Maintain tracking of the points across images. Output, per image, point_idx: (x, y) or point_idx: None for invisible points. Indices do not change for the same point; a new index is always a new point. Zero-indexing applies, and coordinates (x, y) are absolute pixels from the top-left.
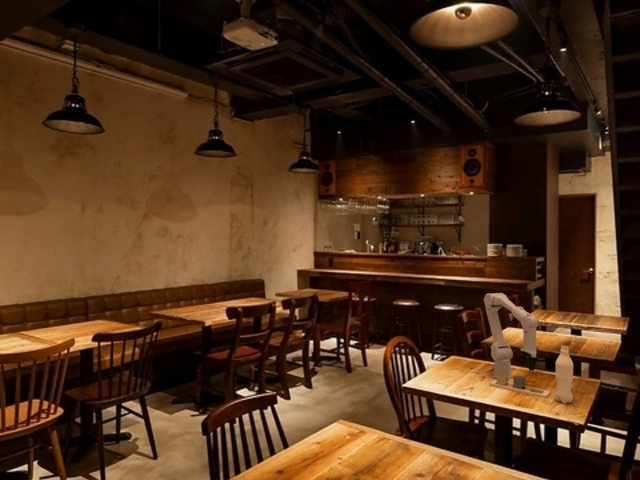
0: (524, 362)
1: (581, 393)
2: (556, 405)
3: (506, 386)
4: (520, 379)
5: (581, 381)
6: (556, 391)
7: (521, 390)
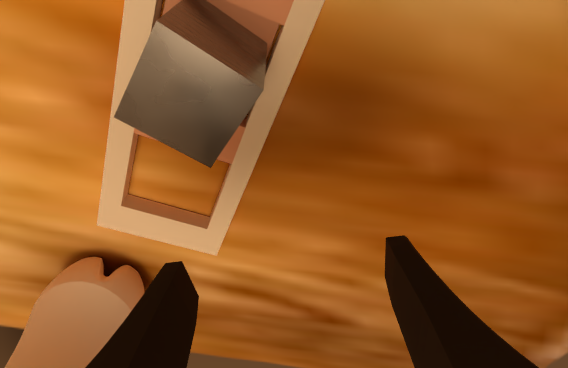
0: (404, 275)
1: (292, 344)
2: (3, 243)
3: None
4: (121, 104)
5: None
6: (57, 303)
7: (116, 70)
